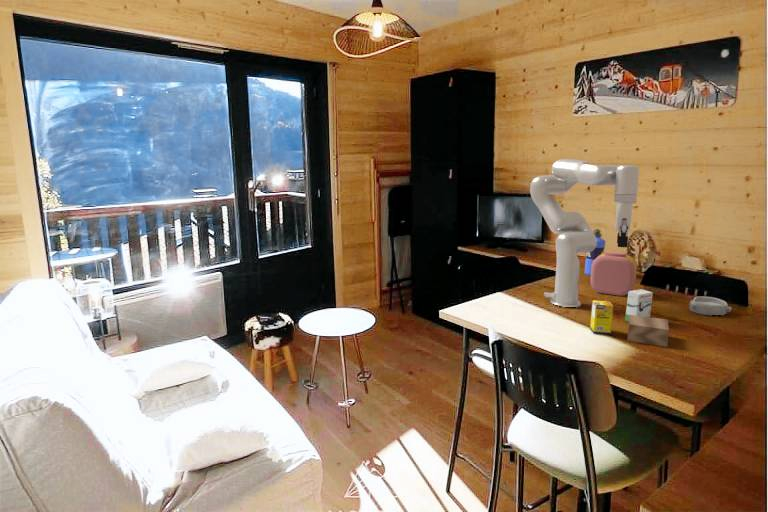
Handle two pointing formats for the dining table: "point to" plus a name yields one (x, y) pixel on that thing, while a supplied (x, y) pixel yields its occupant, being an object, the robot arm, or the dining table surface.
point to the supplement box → (601, 317)
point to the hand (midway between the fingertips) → (621, 245)
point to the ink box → (638, 303)
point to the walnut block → (648, 330)
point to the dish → (709, 306)
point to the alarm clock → (613, 273)
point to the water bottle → (594, 252)
